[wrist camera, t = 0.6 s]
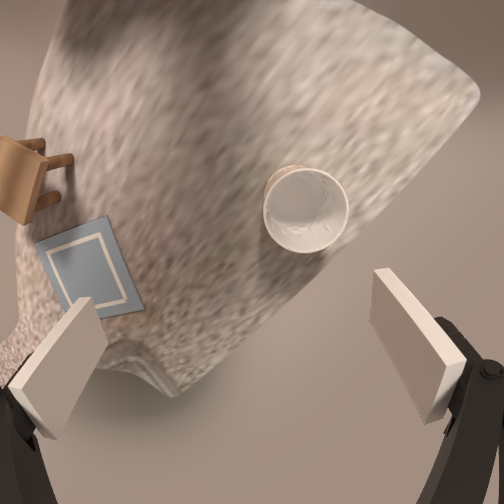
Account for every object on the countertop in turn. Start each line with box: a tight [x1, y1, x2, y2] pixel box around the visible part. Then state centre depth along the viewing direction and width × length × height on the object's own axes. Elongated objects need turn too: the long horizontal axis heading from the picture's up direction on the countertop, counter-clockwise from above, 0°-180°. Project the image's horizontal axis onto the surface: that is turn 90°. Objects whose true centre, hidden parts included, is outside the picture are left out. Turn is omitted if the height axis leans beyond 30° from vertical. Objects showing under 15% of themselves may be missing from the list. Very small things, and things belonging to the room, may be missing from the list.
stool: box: [0, 136, 74, 226], centre depth 31 cm, size 8×8×9 cm
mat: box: [35, 216, 145, 319], centre depth 41 cm, size 14×14×1 cm
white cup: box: [263, 165, 349, 253], centre depth 33 cm, size 8×8×10 cm
